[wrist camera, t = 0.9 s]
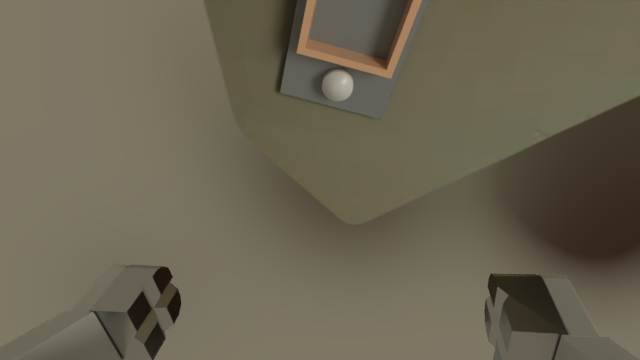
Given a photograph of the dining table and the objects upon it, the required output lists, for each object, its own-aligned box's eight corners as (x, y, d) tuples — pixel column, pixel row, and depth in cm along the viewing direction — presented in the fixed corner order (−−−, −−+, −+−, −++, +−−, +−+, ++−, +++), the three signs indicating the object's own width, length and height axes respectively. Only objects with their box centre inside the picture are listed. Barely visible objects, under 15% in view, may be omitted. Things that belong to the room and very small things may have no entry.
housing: (312, -78, 36) (307, -72, 34) (443, -39, 37) (447, -30, 35) (281, 89, 48) (276, 103, 46) (380, 116, 49) (381, 130, 46)
